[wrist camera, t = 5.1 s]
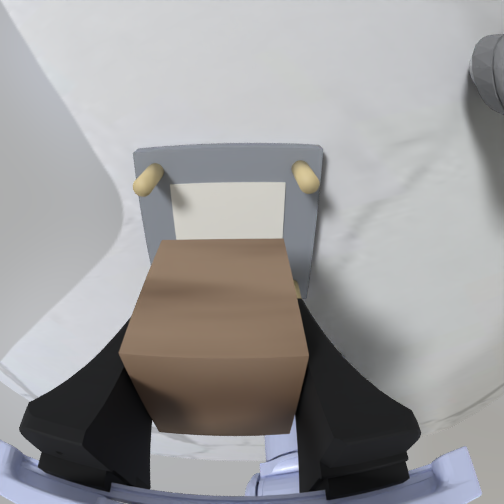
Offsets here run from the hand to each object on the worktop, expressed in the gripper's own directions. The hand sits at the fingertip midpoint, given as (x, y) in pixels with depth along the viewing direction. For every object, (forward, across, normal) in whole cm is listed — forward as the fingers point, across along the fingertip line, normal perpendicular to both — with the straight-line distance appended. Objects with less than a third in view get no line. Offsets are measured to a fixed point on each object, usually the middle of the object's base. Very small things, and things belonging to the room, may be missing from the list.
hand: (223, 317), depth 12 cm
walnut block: (+2, 0, 0) cm, 2 cm away
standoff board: (+8, 0, 0) cm, 8 cm away
